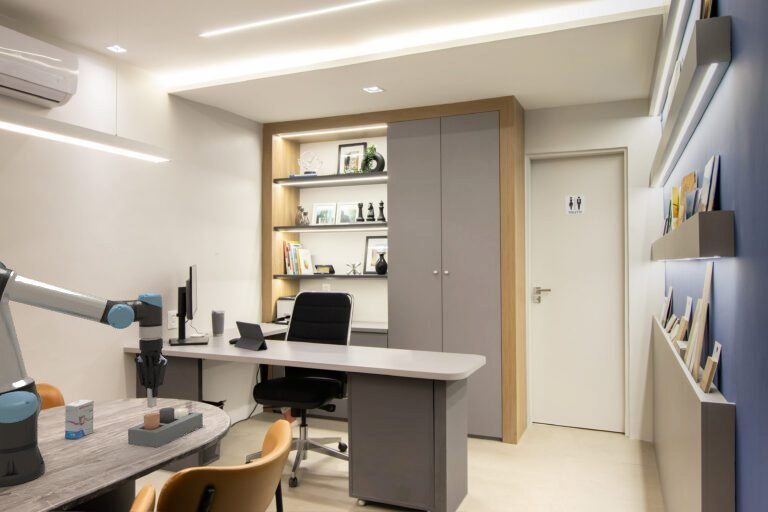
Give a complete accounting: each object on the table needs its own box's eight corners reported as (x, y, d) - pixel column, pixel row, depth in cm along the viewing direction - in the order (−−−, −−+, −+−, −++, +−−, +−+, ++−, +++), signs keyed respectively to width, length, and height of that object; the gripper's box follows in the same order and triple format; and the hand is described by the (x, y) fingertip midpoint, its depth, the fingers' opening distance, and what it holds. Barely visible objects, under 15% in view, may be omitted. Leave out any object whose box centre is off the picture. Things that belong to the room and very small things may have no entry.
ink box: (77, 439, 197) (76, 405, 197) (64, 438, 198) (64, 405, 198) (94, 431, 206) (94, 399, 205) (82, 431, 207) (81, 398, 206)
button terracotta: (152, 435, 192) (152, 418, 192) (140, 434, 193) (140, 416, 193) (162, 431, 196) (162, 414, 196) (151, 429, 198) (151, 412, 198)
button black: (167, 429, 199) (167, 412, 199) (156, 427, 200) (156, 410, 200) (177, 424, 203) (177, 408, 203) (166, 423, 205) (166, 407, 205)
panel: (156, 447, 189) (156, 432, 189) (128, 443, 193) (128, 429, 193) (202, 426, 211) (202, 413, 211) (176, 423, 215) (176, 410, 215)
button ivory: (182, 428, 206) (182, 412, 206) (171, 427, 208) (170, 410, 207) (191, 424, 211) (191, 408, 210) (180, 423, 212) (180, 407, 212)
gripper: (173, 337, 196) (174, 405, 196) (143, 335, 200) (144, 402, 201) (158, 340, 189) (159, 411, 189) (127, 339, 193) (128, 407, 194)
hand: (152, 406), depth 195 cm, fingers closed
